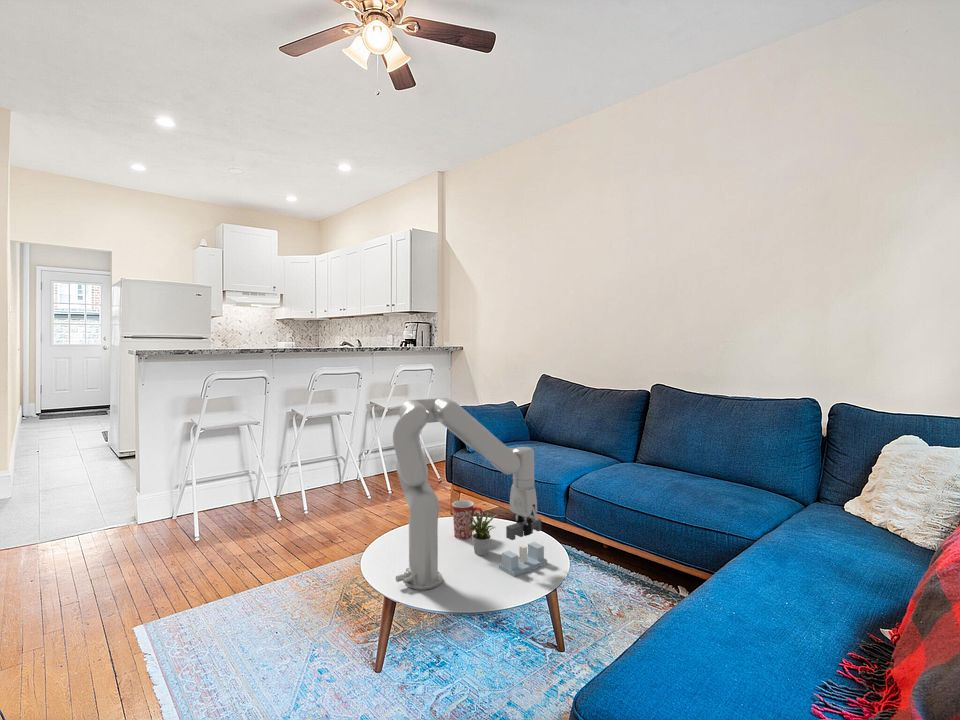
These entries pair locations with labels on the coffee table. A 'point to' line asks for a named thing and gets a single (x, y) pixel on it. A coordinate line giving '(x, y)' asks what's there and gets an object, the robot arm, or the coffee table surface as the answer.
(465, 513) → the mug
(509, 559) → the display stand
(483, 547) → the house plant
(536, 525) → the dark grey bar
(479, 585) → the coffee table surface
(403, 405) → the robot arm
